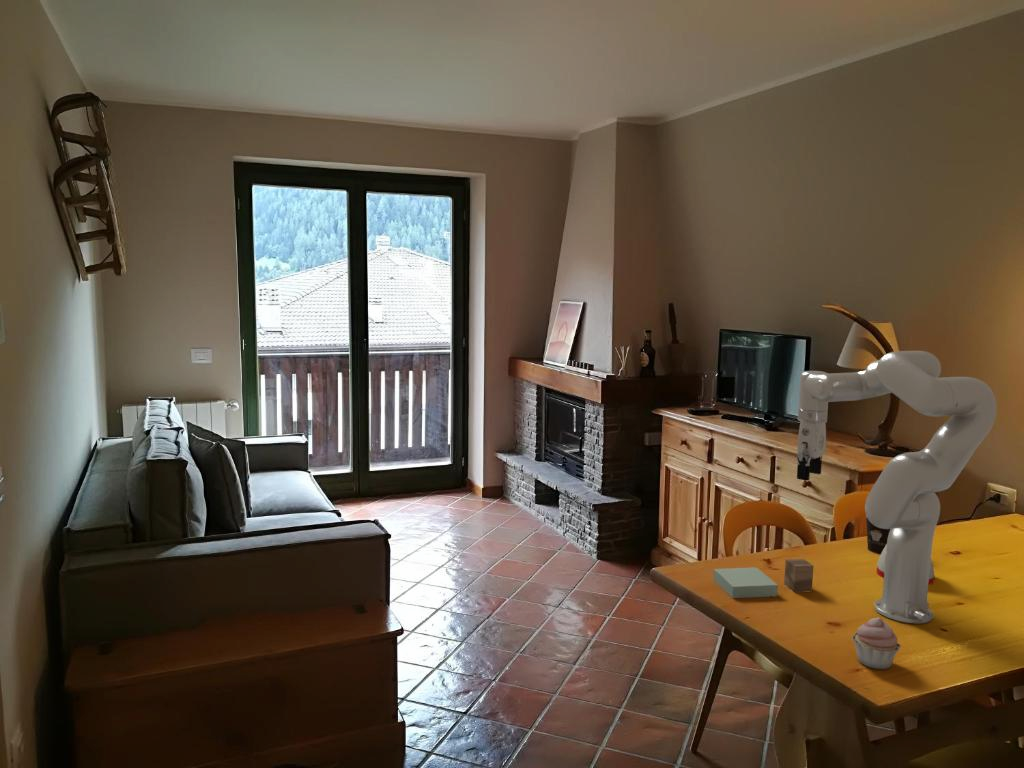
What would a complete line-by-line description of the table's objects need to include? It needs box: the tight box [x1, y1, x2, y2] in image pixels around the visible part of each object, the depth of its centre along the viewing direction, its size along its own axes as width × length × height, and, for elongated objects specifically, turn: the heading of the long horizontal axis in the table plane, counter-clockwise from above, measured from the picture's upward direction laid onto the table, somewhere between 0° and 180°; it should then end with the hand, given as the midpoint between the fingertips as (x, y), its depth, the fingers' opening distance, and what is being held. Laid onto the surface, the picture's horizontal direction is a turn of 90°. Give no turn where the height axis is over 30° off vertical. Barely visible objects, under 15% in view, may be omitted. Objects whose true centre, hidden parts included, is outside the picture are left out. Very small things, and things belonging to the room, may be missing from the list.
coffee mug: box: [865, 515, 890, 555], centre depth 224 cm, size 12×9×10 cm
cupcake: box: [850, 617, 902, 670], centre depth 157 cm, size 9×9×10 cm
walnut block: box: [783, 558, 814, 593], centre depth 196 cm, size 5×5×7 cm
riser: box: [712, 567, 779, 599], centre depth 196 cm, size 12×12×3 cm
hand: (809, 476), depth 210 cm, fingers open, 9 cm apart
